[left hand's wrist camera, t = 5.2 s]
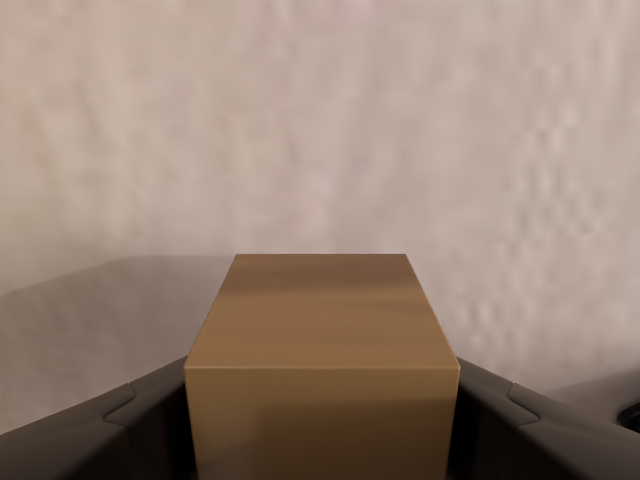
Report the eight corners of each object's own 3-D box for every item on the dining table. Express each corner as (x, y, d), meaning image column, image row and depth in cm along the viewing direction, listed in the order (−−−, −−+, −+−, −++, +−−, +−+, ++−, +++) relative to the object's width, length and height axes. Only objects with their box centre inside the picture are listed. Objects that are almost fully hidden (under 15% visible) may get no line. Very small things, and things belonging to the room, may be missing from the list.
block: (235, 253, 12) (181, 366, 7) (406, 253, 12) (462, 366, 7) (246, 403, 14) (209, 573, 9) (395, 403, 14) (434, 572, 9)
